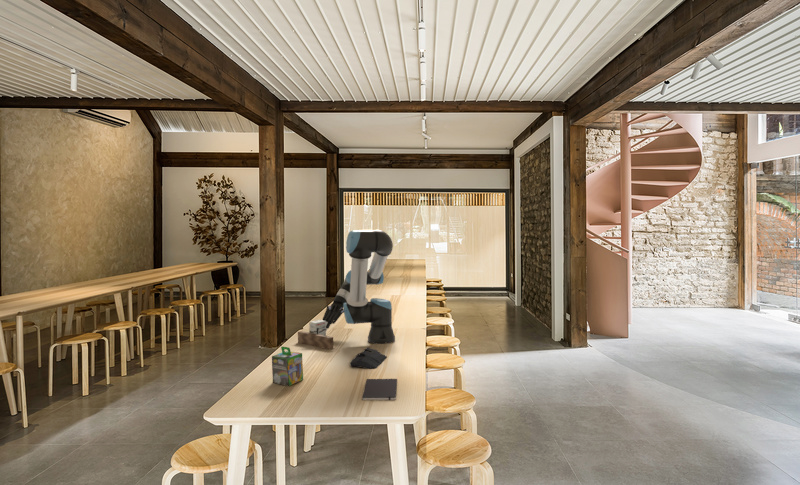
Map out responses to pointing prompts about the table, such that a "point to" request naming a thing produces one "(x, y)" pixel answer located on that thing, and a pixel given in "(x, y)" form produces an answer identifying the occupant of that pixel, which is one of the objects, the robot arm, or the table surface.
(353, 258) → the robot arm
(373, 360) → the dark slate chunk
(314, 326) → the ink box
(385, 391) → the notebook
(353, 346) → the table surface
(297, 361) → the chalk box
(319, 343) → the walnut board
